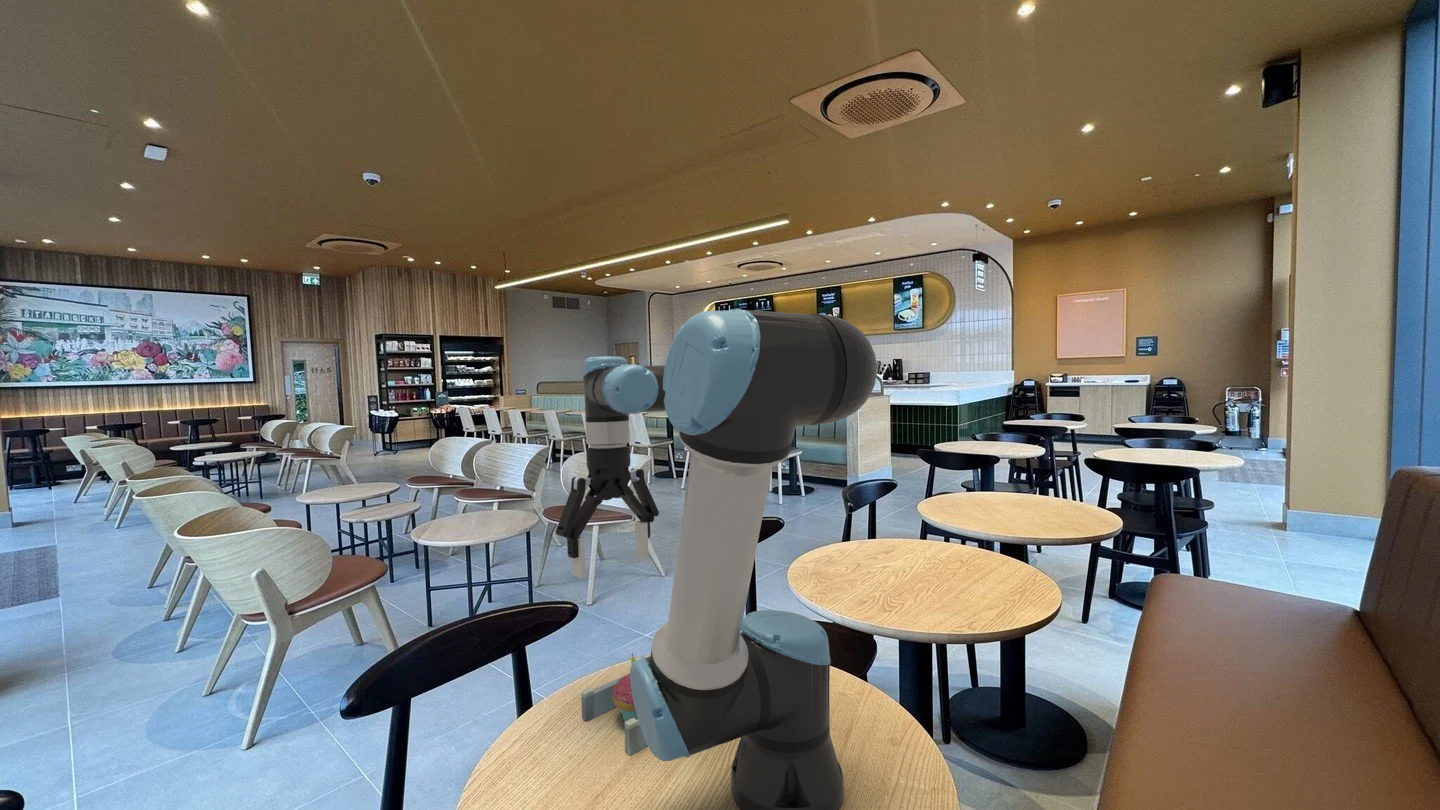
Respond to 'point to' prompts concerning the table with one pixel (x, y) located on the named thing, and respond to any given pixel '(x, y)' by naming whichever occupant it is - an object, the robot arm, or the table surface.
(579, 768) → the table surface
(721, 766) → the table surface
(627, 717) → the cupcake
